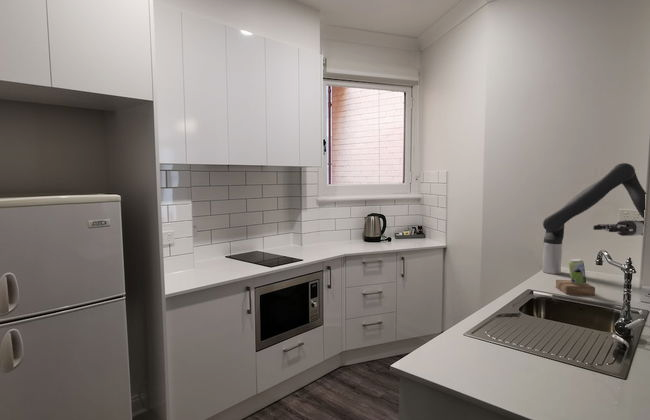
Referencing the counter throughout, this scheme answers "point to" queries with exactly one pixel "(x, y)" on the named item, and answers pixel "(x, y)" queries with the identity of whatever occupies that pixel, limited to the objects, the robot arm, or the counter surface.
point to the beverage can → (577, 271)
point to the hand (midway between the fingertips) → (601, 228)
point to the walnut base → (575, 288)
